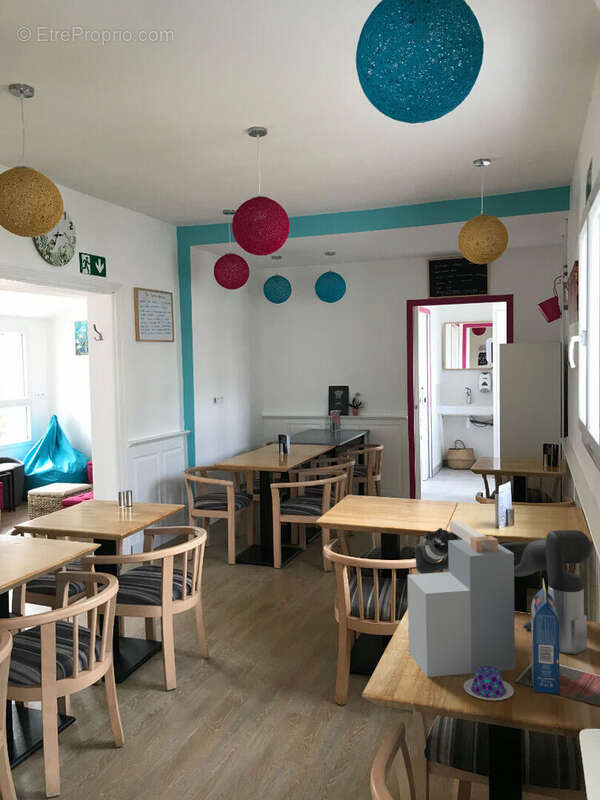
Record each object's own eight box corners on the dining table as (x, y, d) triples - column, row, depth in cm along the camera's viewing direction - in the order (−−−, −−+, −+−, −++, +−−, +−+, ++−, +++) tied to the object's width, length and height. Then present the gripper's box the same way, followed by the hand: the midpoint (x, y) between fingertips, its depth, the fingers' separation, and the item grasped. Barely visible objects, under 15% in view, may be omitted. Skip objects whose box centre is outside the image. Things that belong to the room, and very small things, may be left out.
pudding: (460, 698, 164) (460, 677, 164) (466, 677, 176) (466, 657, 175) (512, 706, 160) (512, 684, 160) (515, 683, 171) (515, 663, 171)
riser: (515, 669, 178) (513, 553, 177) (427, 677, 175) (425, 559, 174) (490, 644, 194) (488, 538, 193) (408, 651, 191) (406, 543, 190)
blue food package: (556, 672, 176) (555, 578, 175) (560, 694, 164) (559, 593, 163) (531, 670, 178) (530, 576, 176) (532, 691, 166) (531, 591, 165)
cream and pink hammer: (498, 550, 179) (497, 539, 179) (476, 552, 179) (476, 541, 179) (464, 529, 203) (464, 519, 203) (444, 530, 202) (444, 520, 202)
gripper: (416, 534, 217) (430, 519, 203) (458, 532, 219) (475, 516, 205) (420, 558, 214) (434, 544, 200) (463, 555, 216) (480, 541, 201)
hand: (455, 530), depth 202 cm, fingers open, 8 cm apart
